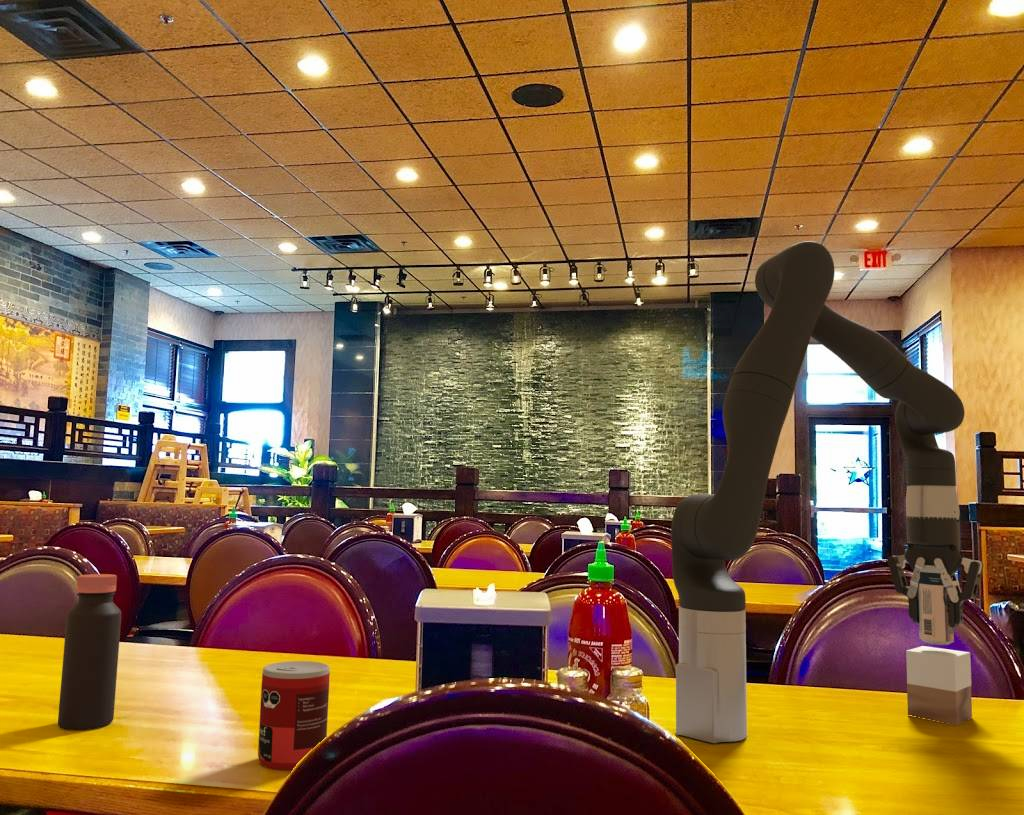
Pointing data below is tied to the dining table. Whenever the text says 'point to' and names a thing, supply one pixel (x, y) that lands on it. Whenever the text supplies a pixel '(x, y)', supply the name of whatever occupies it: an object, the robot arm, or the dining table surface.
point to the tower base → (939, 704)
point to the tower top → (938, 668)
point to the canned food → (292, 712)
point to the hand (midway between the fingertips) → (935, 624)
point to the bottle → (90, 655)
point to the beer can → (933, 608)
